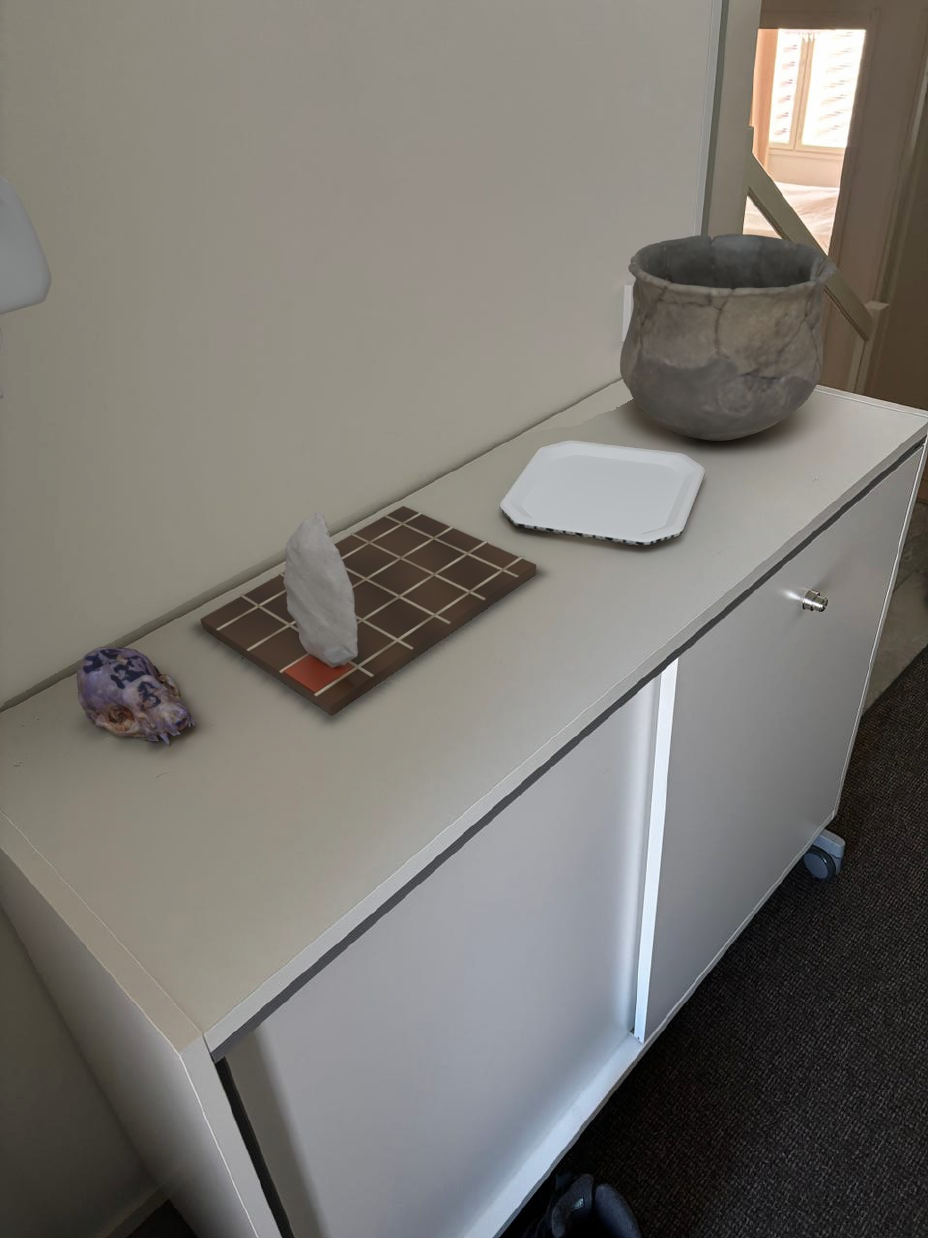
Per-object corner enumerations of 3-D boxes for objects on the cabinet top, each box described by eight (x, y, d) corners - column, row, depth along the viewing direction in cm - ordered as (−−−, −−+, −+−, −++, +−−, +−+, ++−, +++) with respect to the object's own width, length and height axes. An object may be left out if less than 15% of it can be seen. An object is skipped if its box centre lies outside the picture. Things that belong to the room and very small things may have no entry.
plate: (709, 472, 111) (710, 455, 110) (674, 563, 96) (676, 545, 95) (545, 452, 118) (545, 436, 117) (489, 533, 103) (488, 516, 102)
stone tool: (283, 653, 86) (251, 513, 77) (306, 634, 88) (278, 496, 79) (359, 686, 81) (335, 541, 72) (382, 665, 83) (361, 523, 74)
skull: (218, 720, 80) (191, 670, 76) (143, 777, 76) (111, 728, 73) (151, 667, 87) (123, 619, 83) (80, 716, 84) (47, 669, 80)
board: (331, 715, 80) (329, 704, 80) (202, 628, 92) (199, 617, 91) (536, 574, 96) (536, 562, 95) (404, 514, 107) (403, 503, 107)
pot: (844, 422, 120) (879, 251, 107) (739, 488, 108) (764, 305, 95) (687, 374, 135) (700, 220, 122) (579, 427, 123) (581, 263, 110)
